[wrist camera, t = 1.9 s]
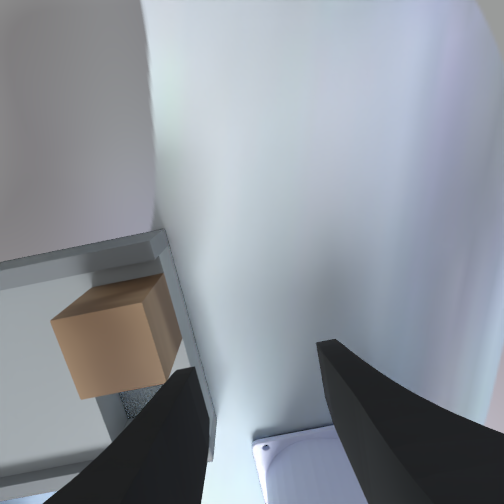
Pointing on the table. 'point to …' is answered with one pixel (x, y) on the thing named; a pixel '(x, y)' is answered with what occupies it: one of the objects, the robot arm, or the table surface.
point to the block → (119, 336)
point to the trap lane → (54, 365)
